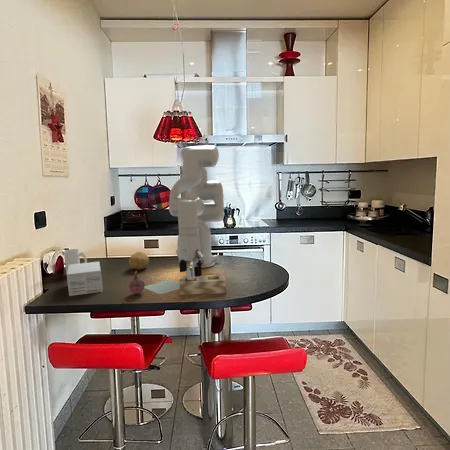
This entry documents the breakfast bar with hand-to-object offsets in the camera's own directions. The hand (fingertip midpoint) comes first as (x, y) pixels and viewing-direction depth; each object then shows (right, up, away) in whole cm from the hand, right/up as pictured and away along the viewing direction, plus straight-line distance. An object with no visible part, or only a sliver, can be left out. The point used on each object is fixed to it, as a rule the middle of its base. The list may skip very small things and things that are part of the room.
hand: (190, 273), depth 151 cm
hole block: (+5, -7, +1) cm, 9 cm away
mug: (-58, -5, +33) cm, 67 cm away
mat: (-11, -7, +7) cm, 15 cm away
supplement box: (-46, -8, +11) cm, 47 cm away
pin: (0, -7, +1) cm, 7 cm away
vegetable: (-21, -9, -1) cm, 23 cm away
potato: (-29, -3, +39) cm, 49 cm away
